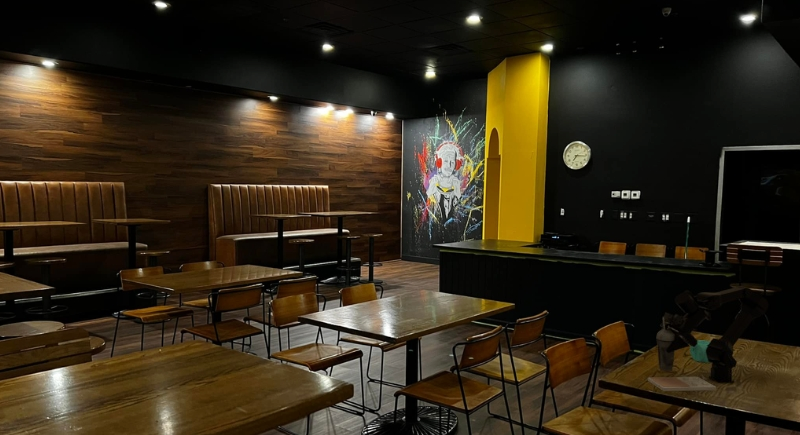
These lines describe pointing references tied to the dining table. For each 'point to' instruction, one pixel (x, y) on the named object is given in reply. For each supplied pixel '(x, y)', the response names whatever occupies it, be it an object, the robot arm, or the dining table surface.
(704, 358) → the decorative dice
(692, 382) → the baseplate
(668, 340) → the beverage cup
